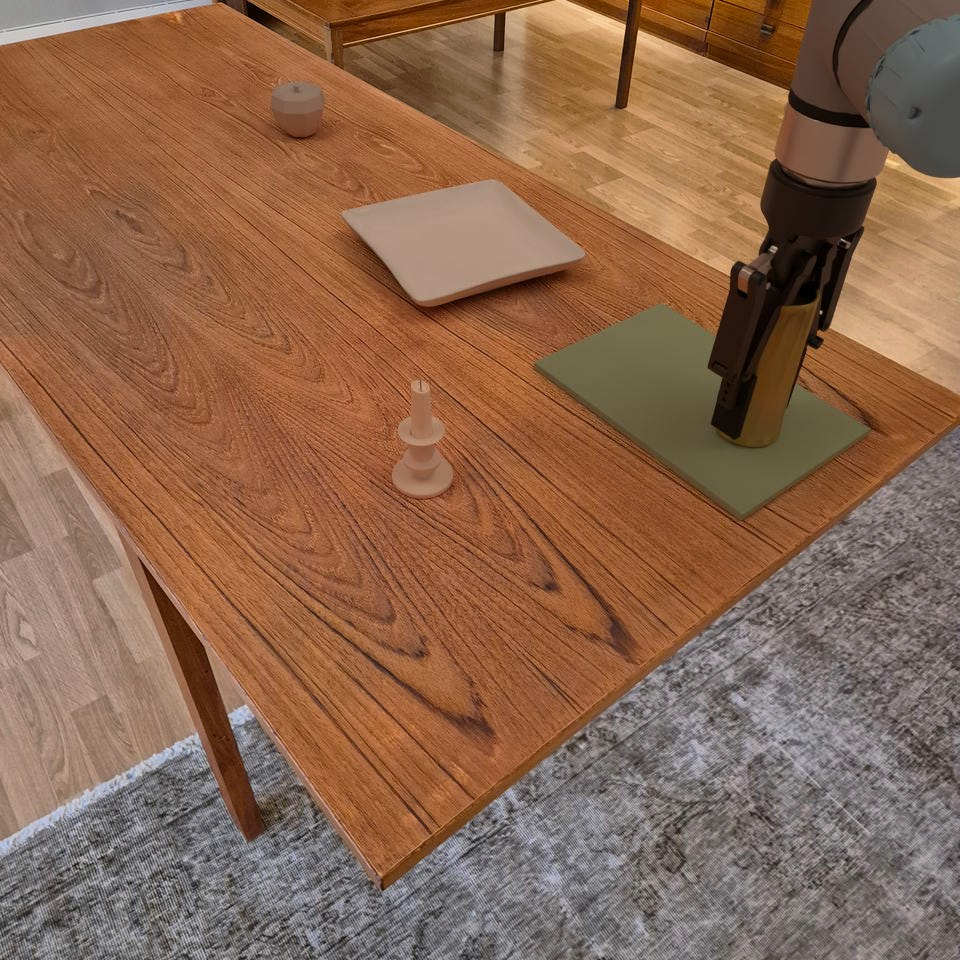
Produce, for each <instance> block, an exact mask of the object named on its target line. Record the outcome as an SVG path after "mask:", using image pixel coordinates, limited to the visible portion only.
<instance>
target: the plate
mask: <svg viewBox="0 0 960 960" xmlns="http://www.w3.org/2000/svg"><path fill="white" fill-rule="evenodd" d="M340 217H341V219H342V220H343V222H344V223H345V224H346V226H348V228H349V229H350V230H351V231H352V232H354V233H355V235H356V236H358V238H360V239H361V241H362V242H363V243H364V244H365V245H366V246H368V248H369V249H370V250H371V251H372V252H373V253H374V254H375V255H376V256H377V258H379V259H380V261H381V262H382V263H383V264H384V265H385V266H386V268H387V269H388V270H389V271H390V273H391V274H392V275H393V277H394V278H395V280H396V282H398V284H399V285H400V286H401V287H402V289H403V290H404V292H405V293H406V294H407V295H408V296H409V298H410V299H411V300H412V301H413V302H414V303H415V304H416V305H418V306H421V307H426V308H427V307H428V308H429V307H437V306H441V305H444V304H446V303H447V304H448V303H451V302H454V301H457V300H461V299H465V298H468V297H472V296H475V295H480V294H484V293H487V292H490V291H493V290H498V289H501V288H504V287H508V286H510V285H514V284H517V283H521V282H525V281H528V280H531V279H534V278H538V277H543V276H546V275H551V274H555V273H558V272H561V271H563V270H567V269H569V268H572V267H574V266H576V265H578V264H580V262H582V261H583V260H584V259H585V258H586V256H587V253H586V252H585V251H584V249H583V248H582V247H580V246H579V245H578V244H577V243H576V242H574V240H572V239H570V238H569V237H568V236H567V235H566V234H565V233H563V232H562V231H561V230H560V229H558V228H557V226H555V225H554V224H553V223H551V222H550V221H549V220H548V219H547V218H545V217H544V216H543V215H541V214H540V213H539V212H538V211H536V209H534V208H533V207H532V206H531V205H530V204H528V203H527V201H524V199H522V198H521V197H520V196H519V195H518V194H517V193H515V192H514V191H513V190H512V189H510V188H509V187H508V186H507V185H505V184H504V183H502V182H501V181H499V180H498V179H493V178H490V179H485V180H478V181H473V182H469V183H464V184H458V185H454V186H449V187H445V188H439V189H437V190H436V189H435V190H430V191H425V192H421V193H417V194H411V195H407V196H401V197H398V198H393V199H389V200H384V201H380V202H376V203H371V204H367V205H363V206H358V207H353V208H349V209H345V210H343V211H341V213H340Z"/></svg>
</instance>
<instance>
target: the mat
mask: <svg viewBox="0 0 960 960" xmlns="http://www.w3.org/2000/svg"><path fill="white" fill-rule="evenodd" d="M716 335H717V334H714V333H713V332H711V331H710V330H708V329H706V328H705V327H703V326H701V325H699V324H698V323H696V322H694V321H693V320H691V319H689V318H687V317H686V316H684V315H683V314H681V313H680V312H678V311H676V310H675V309H673V308H671V307H669V306H668V305H667V304H665V303H663V302H659V303H657V304H654V305H653V306H651V307H648V308H646V309H644V310H642V311H639V312H638V313H635V314H634V315H633V314H632V315H631V316H629V317H627V318H625V319H624V320H621V321H618V322H616V323H614V324H612V325H610V326H607V327H605V328H603V329H602V330H600V331H597V332H595V333H593V334H591V335H589V336H586V337H585V338H582V339H579V340H578V341H576V342H574V343H572V344H569V345H567V346H566V347H562V348H561V349H559V350H557V351H554V352H552V353H549V354H548V355H546V356H544V357H542V358H540V359H538V360H535V361H534V362H533V369H534V370H535V371H536V372H538V373H540V375H542V376H543V377H545V379H547V380H549V381H550V382H551V383H553V385H556V386H557V387H558V388H559V389H561V390H562V391H564V392H565V393H566V394H567V395H569V396H570V397H572V398H573V399H574V400H575V401H577V402H579V404H581V405H583V407H585V408H586V409H588V410H589V411H591V412H592V413H593V414H594V415H596V416H598V418H600V419H601V420H603V421H604V422H605V423H607V424H608V425H610V426H611V427H612V428H614V429H615V430H617V431H618V432H619V433H621V434H622V435H623V436H624V437H626V438H627V439H629V440H630V441H632V442H633V443H634V444H636V445H637V447H640V448H641V449H642V450H644V451H645V452H646V453H648V454H649V455H650V456H651V457H653V458H655V459H656V460H657V461H658V462H660V463H661V464H662V465H664V466H665V467H666V468H667V469H670V471H672V472H673V473H675V474H676V475H678V476H679V477H680V478H682V479H683V480H684V481H685V482H687V483H688V484H690V485H691V486H692V487H693V488H695V489H696V490H698V491H699V492H701V493H702V494H703V495H705V496H706V497H707V498H709V499H710V500H711V501H712V502H714V503H715V504H717V505H718V506H720V507H721V509H723V510H725V511H726V512H728V513H729V514H730V515H732V516H733V517H734V518H736V520H738V521H740V522H742V521H744V520H745V519H746V518H747V517H749V516H751V515H752V514H754V513H755V512H757V511H758V510H760V509H761V508H763V507H764V506H765V505H767V504H769V503H770V502H771V501H773V500H774V499H776V498H777V497H779V496H780V495H782V494H783V493H785V492H786V491H788V490H789V489H791V488H792V487H794V486H795V485H797V484H798V483H800V482H801V481H803V480H804V479H805V478H807V477H809V476H810V475H812V474H813V473H815V472H816V471H817V470H819V469H820V468H822V467H824V466H825V465H826V464H828V463H830V462H831V461H832V460H834V459H836V457H838V456H840V455H841V454H843V453H845V451H847V450H848V449H850V448H851V447H853V446H855V445H856V444H857V443H859V442H860V441H862V440H863V439H865V438H866V437H868V436H869V434H870V432H871V430H872V428H870V427H869V426H868V425H865V424H864V423H862V422H860V421H859V420H857V419H855V418H854V417H852V416H850V415H849V414H848V413H846V412H844V411H842V410H841V409H839V408H837V407H835V406H834V405H833V404H831V403H829V402H827V401H825V400H824V399H822V398H821V397H819V396H817V395H816V394H814V393H812V392H811V391H809V390H807V389H806V388H804V387H802V386H801V385H799V384H798V383H796V384H795V387H794V390H793V393H792V396H791V399H790V402H789V405H788V408H787V409H786V411H785V415H784V418H783V421H782V426H781V433H780V436H779V437H778V439H777V440H776V441H774V442H773V443H771V444H769V445H766V446H763V447H745V446H740V445H736V444H734V443H732V442H729V441H728V440H726V439H724V438H723V437H722V436H721V435H719V433H718V432H717V431H716V429H715V428H714V426H713V425H711V420H712V416H713V413H714V409H715V405H716V402H717V396H718V392H719V388H720V385H721V381H722V377H720V376H719V375H717V374H715V373H714V372H712V371H711V370H709V369H708V367H707V366H708V362H709V359H710V355H711V352H712V348H713V345H714V342H715V338H716Z"/></svg>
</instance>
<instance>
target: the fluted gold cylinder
mask: <svg viewBox="0 0 960 960" xmlns="http://www.w3.org/2000/svg"><path fill="white" fill-rule="evenodd" d="M770 285H771V286H773V287H775V288H777V289H779V290H781V291H782V292H784V290H783V289H780V288H778V287H776V286H774V285H772V284H771V283H770ZM819 299H820V292H819V290H815V292H814V294H813V295H812V296H809V297H805V298H803V297H799V296H797V295H796V297H795V300H794V302H793V303H792V304H791V305H785V306H782V308H781V313H780V316H779V319H778V321H777V323H776V325H775V328H774V330H773V332H772V334H771V336H770V338H769V340H768V342H767V344H766V346H765V349H764V351H763V353H762V355H761V357H760V359H759V361H758V363H757V365H756V367H755V370H754V372H753V374H754V375H755V376H757V377H758V378H757V381H756V385H755V388H754V392H753V395H752V398H751V402H750V405H749V408H748V412H747V415H746V418H745V422H744V425H743V428H742V432H741V435H740V437H739V438H737V439H736V440H733V439H732V438H730V437H729V436H727V435H726V434H724V433H723V432H721V431H720V430H718V429H717V428H716V427H714V428H715V429H716V431H717V432H718V433H719V435H721V436H722V437H723V438H724V439H726V440H728V441H729V442H732V443H734V444H736V445H740V446H745V447H763V446H766V445H769V444H771V443H773V442H774V441H776V440H777V439H778V437H779V436H780V433H781V426H782V421H783V418H784V415H785V411H786V407H787V403H788V399H789V395H790V391H791V388H792V384H793V381H794V378H795V375H796V372H797V369H798V365H799V362H800V359H801V356H802V352H803V349H804V346H805V343H806V340H807V337H808V334H809V331H810V328H811V325H812V321H813V318H814V314H815V311H816V308H817V305H818V302H819ZM712 417H713V416H712Z"/></svg>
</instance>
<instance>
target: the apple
mask: <svg viewBox="0 0 960 960" xmlns="http://www.w3.org/2000/svg"><path fill="white" fill-rule="evenodd" d="M325 105H326V98H325V95H324V92H323V89H322V88H321V87H320V86H318V85H316V84H314V83H312V82H309V81H288V82H285V83H282V84H278V85H276V86H275V87H274V88H273V91H272V93H271V98H270V104H269V108H270V110H271V112H272V114H273V116H274V119H275V121H276V122H277V123H278V125H279V126H280V127H281V130H283V131H284V132H285V133H286V134H288V135H290V136H292V137H294V138H307V137H309V136H313V135H315V134H316V133H317V131H318V130H319V128H320V125H321V123H322V119H323V114H324V109H325Z"/></svg>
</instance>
